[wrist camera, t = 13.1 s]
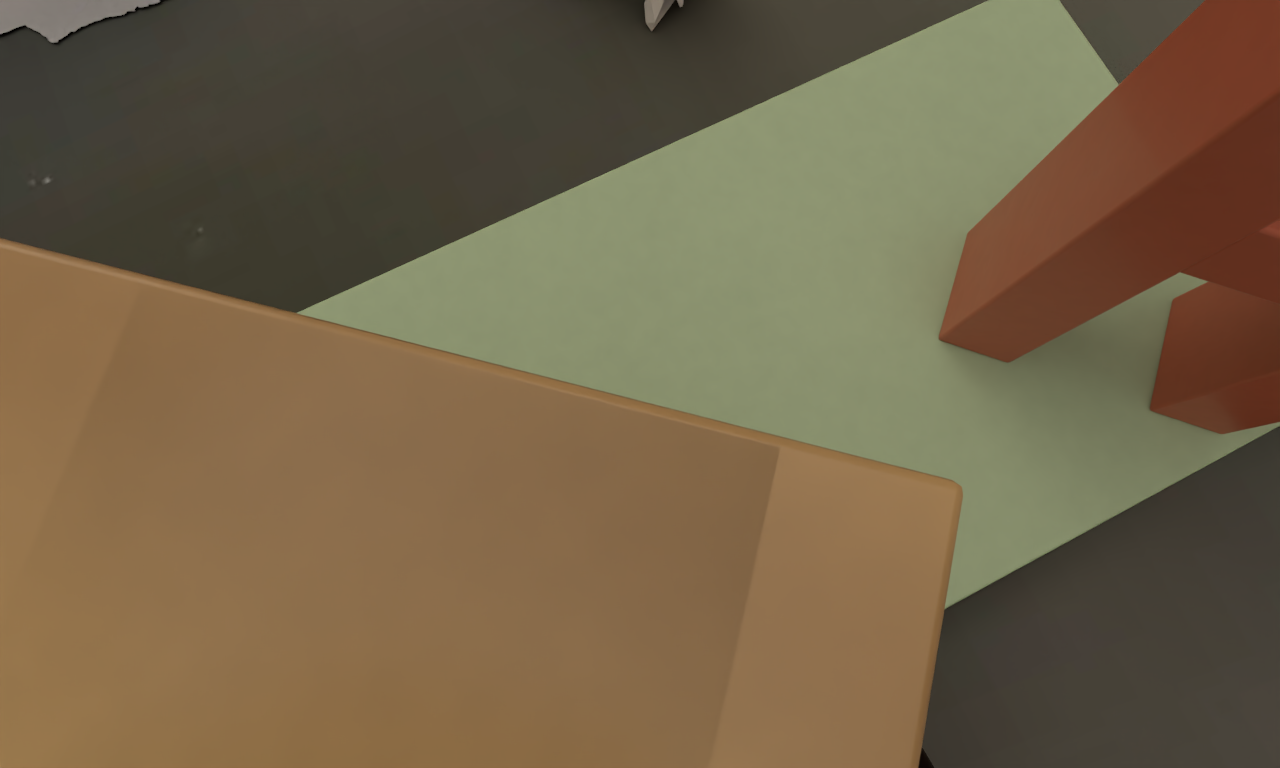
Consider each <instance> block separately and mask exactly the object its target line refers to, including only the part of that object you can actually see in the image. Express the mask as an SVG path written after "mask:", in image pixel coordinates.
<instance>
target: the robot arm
mask: <svg viewBox="0 0 1280 768" xmlns="http://www.w3.org/2000/svg"><path fill="white" fill-rule="evenodd" d="M918 768H934V767H933V765H932V763H931V762H930V760H929V758H928V756H927V755H926V753H925V751H924V750H923V748H921V754H920V760H919V766H918Z"/></svg>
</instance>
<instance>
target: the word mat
mask: <svg viewBox="0 0 1280 768" xmlns="http://www.w3.org/2000/svg"><path fill="white" fill-rule="evenodd" d="M1117 86H1118V83H1117V82H1116V80H1115V79H1114V77H1113V76H1112V75H1111V73H1110V72H1109V70H1108V69H1107V67H1106V66H1105V65H1104V63H1103V62H1102V60H1101V59H1100V57H1099V56H1098V55H1097V53H1096V52H1095V50H1094V49H1093V48H1092V46H1091V45H1090V43H1089V42H1088V40H1087V39H1086V38H1085V36H1084V35H1083V33H1082V32H1081V30H1080V29H1079V28H1078V26H1077V25H1076V23H1075V22H1074V21H1073V19H1072V18H1071V16H1070V15H1069V13H1068V12H1067V11H1066V9H1065V8H1064V6H1063V5H1062V3H1061V2H1060V1H1059V0H989V1H986V2H984V3H982V4H980V5H977V6H975V7H973V8H971V9H969V10H966V11H964V12H962V13H960V14H958V15H955V16H953V17H951V18H949V19H946V20H944V21H942V22H940V23H938V24H935V25H933V26H931V27H929V28H927V29H924V30H922V31H920V32H918V33H916V34H913V35H911V36H909V37H907V38H904V39H902V40H900V41H898V42H896V43H893V44H891V45H889V46H887V47H885V48H882V49H880V50H878V51H876V52H873V53H871V54H869V55H867V56H865V57H862V58H860V59H858V60H856V61H854V62H851V63H849V64H847V65H845V66H842V67H840V68H838V69H836V70H834V71H831V72H829V73H827V74H825V75H823V76H820V77H818V78H816V79H814V80H811V81H809V82H807V83H805V84H803V85H800V86H798V87H796V88H794V89H792V90H789V91H787V92H785V93H783V94H780V95H778V96H776V97H774V98H772V99H769V100H767V101H765V102H763V103H761V104H758V105H756V106H754V107H752V108H750V109H747V110H745V111H743V112H741V113H738V114H736V115H734V116H732V117H730V118H727V119H725V120H723V121H721V122H719V123H716V124H714V125H712V126H710V127H707V128H705V129H703V130H701V131H699V132H696V133H694V134H692V135H690V136H688V137H685V138H683V139H681V140H679V141H676V142H674V143H672V144H670V145H668V146H665V147H663V148H661V149H659V150H657V151H654V152H652V153H650V154H648V155H645V156H643V157H641V158H639V159H637V160H634V161H632V162H630V163H628V164H626V165H623V166H621V167H619V168H617V169H614V170H612V171H610V172H608V173H606V174H603V175H601V176H599V177H597V178H595V179H592V180H590V181H588V182H586V183H583V184H581V185H579V186H577V187H575V188H572V189H570V190H568V191H566V192H564V193H561V194H559V195H557V196H555V197H553V198H550V199H548V200H546V201H544V202H541V203H539V204H537V205H535V206H533V207H530V208H528V209H526V210H524V211H522V212H519V213H517V214H515V215H513V216H510V217H508V218H506V219H504V220H502V221H499V222H497V223H495V224H493V225H491V226H488V227H486V228H484V229H482V230H479V231H477V232H475V233H473V234H471V235H468V236H466V237H464V238H462V239H460V240H457V241H455V242H453V243H451V244H448V245H446V246H444V247H442V248H440V249H437V250H435V251H433V252H431V253H429V254H426V255H424V256H422V257H420V258H417V259H415V260H413V261H411V262H409V263H406V264H404V265H402V266H400V267H398V268H395V269H393V270H391V271H389V272H387V273H384V274H382V275H380V276H378V277H375V278H373V279H371V280H369V281H367V282H364V283H362V284H360V285H358V286H356V287H353V288H351V289H349V290H347V291H344V292H342V293H340V294H338V295H336V296H333V297H331V298H329V299H327V300H325V301H322V302H320V303H318V304H316V305H313V306H311V307H309V308H307V309H305V310H302V311H300V312H298V313H297V314H301V315H305V316H309V317H313V318H317V319H321V320H325V321H329V322H333V323H337V324H340V325H344V326H348V327H352V328H356V329H360V330H364V331H368V332H372V333H376V334H380V335H384V336H388V337H392V338H396V339H399V340H403V341H407V342H411V343H415V344H419V345H423V346H427V347H431V348H435V349H439V350H443V351H447V352H451V353H455V354H459V355H462V356H466V357H470V358H474V359H478V360H482V361H486V362H490V363H494V364H498V365H502V366H506V367H510V368H514V369H518V370H521V371H525V372H529V373H533V374H537V375H541V376H545V377H549V378H553V379H557V380H561V381H565V382H569V383H573V384H577V385H581V386H584V387H588V388H592V389H596V390H600V391H604V392H608V393H612V394H616V395H620V396H624V397H628V398H632V399H636V400H640V401H643V402H647V403H651V404H655V405H659V406H663V407H667V408H671V409H675V410H679V411H683V412H687V413H691V414H695V415H699V416H702V417H706V418H710V419H714V420H718V421H722V422H726V423H730V424H734V425H738V426H742V427H746V428H750V429H754V430H758V431H762V432H765V433H769V434H773V435H777V436H781V437H785V438H789V439H793V440H797V441H801V442H805V443H809V444H813V445H817V446H821V447H824V448H828V449H832V450H836V451H840V452H844V453H848V454H852V455H856V456H860V457H864V458H868V459H872V460H876V461H880V462H883V463H887V464H891V465H895V466H899V467H903V468H907V469H911V470H915V471H919V472H923V473H927V474H931V475H935V476H939V477H943V478H946V479H950V480H953V481H954V482H956V483H957V484H959V485H960V486H962V491H963V500H962V506H961V512H960V518H959V524H958V530H957V536H956V542H955V548H954V554H953V560H952V566H951V572H950V578H949V585H948V591H947V597H946V603H945V609H946V608H948V607H950V606H951V605H953V604H955V603H957V602H959V601H960V600H962V599H964V598H966V597H968V596H970V595H971V594H973V593H975V592H977V591H979V590H981V589H982V588H984V587H986V586H988V585H990V584H992V583H993V582H995V581H997V580H999V579H1001V578H1002V577H1004V576H1006V575H1008V574H1010V573H1012V572H1013V571H1015V570H1017V569H1019V568H1021V567H1023V566H1024V565H1026V564H1028V563H1030V562H1032V561H1034V560H1035V559H1037V558H1039V557H1041V556H1043V555H1045V554H1046V553H1048V552H1050V551H1052V550H1054V549H1055V548H1057V547H1059V546H1061V545H1063V544H1065V543H1066V542H1068V541H1070V540H1072V539H1074V538H1076V537H1077V536H1079V535H1081V534H1083V533H1085V532H1087V531H1088V530H1090V529H1092V528H1094V527H1096V526H1097V525H1099V524H1101V523H1103V522H1105V521H1107V520H1108V519H1110V518H1112V517H1114V516H1116V515H1118V514H1119V513H1121V512H1123V511H1125V510H1127V509H1129V508H1130V507H1132V506H1134V505H1136V504H1138V503H1140V502H1141V501H1143V500H1145V499H1147V498H1149V497H1150V496H1152V495H1154V494H1156V493H1158V492H1160V491H1161V490H1163V489H1165V488H1167V487H1169V486H1171V485H1172V484H1174V483H1176V482H1178V481H1180V480H1182V479H1183V478H1185V477H1187V476H1189V475H1191V474H1193V473H1194V472H1196V471H1198V470H1200V469H1202V468H1203V467H1205V466H1207V465H1209V464H1211V463H1213V462H1214V461H1216V460H1218V459H1220V458H1222V457H1224V456H1225V455H1227V454H1229V453H1231V452H1233V451H1235V450H1236V449H1238V448H1240V447H1242V446H1244V445H1245V444H1247V443H1249V442H1251V441H1253V440H1255V439H1256V438H1258V437H1260V436H1262V435H1264V434H1266V433H1267V432H1269V431H1271V430H1273V429H1275V428H1277V427H1278V426H1280V422H1277V423H1273V424H1268V425H1263V426H1259V427H1254V428H1250V429H1245V430H1240V431H1236V432H1231V433H1227V434H1219V433H1216V432H1213V431H1210V430H1207V429H1204V428H1201V427H1198V426H1195V425H1192V424H1189V423H1186V422H1183V421H1180V420H1177V419H1174V418H1171V417H1168V416H1165V415H1162V414H1159V413H1156V412H1153V411H1151V410H1150V404H1151V399H1152V395H1153V390H1154V385H1155V380H1156V376H1157V371H1158V366H1159V362H1160V357H1161V352H1162V347H1163V343H1164V338H1165V333H1166V328H1167V324H1168V319H1169V314H1170V309H1171V305H1172V301H1173V299H1174V298H1176V297H1178V296H1180V295H1182V294H1184V293H1186V292H1188V291H1190V290H1192V289H1194V288H1196V287H1198V286H1200V285H1202V284H1204V283H1206V282H1208V281H1205V280H1202V279H1199V278H1196V277H1193V276H1190V275H1186V274H1183V273H1181V272H1180V273H1178V274H1176V275H1174V276H1172V277H1170V278H1168V279H1166V280H1164V281H1163V282H1161V283H1159V284H1157V285H1155V286H1153V287H1151V288H1149V289H1147V290H1146V291H1144V292H1142V293H1140V294H1138V295H1136V296H1134V297H1132V298H1130V299H1128V300H1127V301H1125V302H1123V303H1121V304H1119V305H1117V306H1115V307H1113V308H1111V309H1110V310H1108V311H1106V312H1104V313H1102V314H1100V315H1098V316H1096V317H1094V318H1093V319H1091V320H1089V321H1087V322H1085V323H1083V324H1081V325H1079V326H1077V327H1076V328H1074V329H1072V330H1070V331H1068V332H1066V333H1064V334H1062V335H1060V336H1059V337H1057V338H1055V339H1053V340H1051V341H1049V342H1047V343H1045V344H1043V345H1042V346H1040V347H1038V348H1036V349H1034V350H1032V351H1030V352H1028V353H1026V354H1025V355H1023V356H1021V357H1019V358H1017V359H1015V360H1013V361H1011V362H1004V361H1001V360H998V359H995V358H992V357H989V356H986V355H983V354H980V353H977V352H974V351H971V350H968V349H965V348H962V347H959V346H956V345H953V344H950V343H947V342H944V341H941V340H939V334H940V330H941V327H942V323H943V319H944V316H945V312H946V309H947V305H948V301H949V298H950V294H951V291H952V287H953V283H954V280H955V276H956V273H957V269H958V265H959V262H960V258H961V255H962V251H963V247H964V244H965V240H966V237H967V233H968V232H969V231H970V230H971V229H972V228H973V227H974V226H975V225H976V224H977V223H978V222H979V221H980V220H981V219H982V218H983V217H984V216H985V215H986V214H987V213H988V212H989V211H990V210H991V209H992V208H994V207H995V206H996V205H997V204H998V203H999V202H1000V201H1001V200H1002V199H1003V198H1004V197H1005V196H1006V195H1007V194H1008V193H1009V192H1010V191H1011V190H1012V189H1013V188H1014V187H1015V186H1016V185H1017V184H1018V183H1019V182H1020V181H1021V180H1022V179H1023V178H1024V177H1025V176H1026V175H1027V174H1028V173H1029V172H1030V171H1031V170H1032V169H1033V168H1034V167H1035V166H1036V165H1037V164H1039V163H1040V162H1041V161H1042V160H1043V159H1044V158H1045V157H1046V156H1047V155H1048V154H1049V153H1050V152H1051V151H1052V150H1053V149H1054V148H1055V147H1056V146H1057V145H1058V144H1059V143H1060V142H1061V141H1062V140H1063V139H1064V138H1065V137H1066V136H1067V135H1068V134H1069V133H1070V132H1071V131H1072V130H1073V129H1074V128H1075V127H1076V126H1077V125H1078V124H1079V123H1080V122H1081V121H1082V120H1083V119H1085V118H1086V117H1087V116H1088V115H1089V114H1090V113H1091V112H1092V111H1093V110H1094V109H1095V108H1096V107H1097V106H1098V105H1099V104H1100V103H1101V102H1102V101H1103V100H1104V99H1105V98H1106V97H1107V96H1108V95H1109V94H1110V93H1111V92H1112V91H1113V90H1114V89H1115V88H1116V87H1117Z"/></svg>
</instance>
